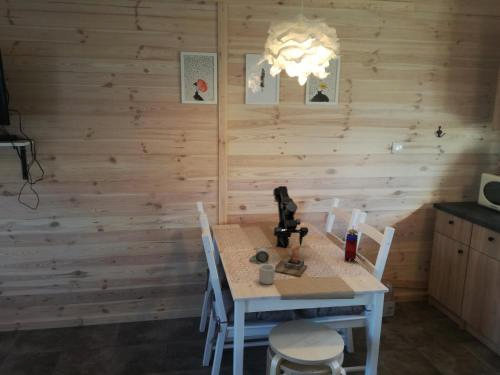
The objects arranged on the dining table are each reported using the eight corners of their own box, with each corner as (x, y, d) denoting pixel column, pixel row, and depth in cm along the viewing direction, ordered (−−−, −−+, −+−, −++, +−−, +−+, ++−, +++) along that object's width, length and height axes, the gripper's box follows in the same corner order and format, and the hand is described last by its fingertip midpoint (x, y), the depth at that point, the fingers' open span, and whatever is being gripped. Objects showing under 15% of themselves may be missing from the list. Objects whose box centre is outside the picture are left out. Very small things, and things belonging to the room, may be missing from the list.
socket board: (272, 271, 206) (272, 265, 206) (280, 262, 219) (280, 256, 218) (300, 277, 201) (300, 270, 200) (307, 267, 213) (307, 260, 213)
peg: (288, 266, 211) (289, 246, 209) (293, 264, 214) (294, 244, 212) (294, 268, 209) (295, 248, 206) (299, 266, 211) (300, 246, 209)
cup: (256, 276, 200) (257, 261, 199) (272, 276, 201) (273, 261, 199) (259, 285, 190) (259, 270, 188) (275, 285, 191) (276, 270, 189)
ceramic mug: (268, 258, 223) (268, 245, 222) (269, 264, 215) (269, 251, 214) (249, 258, 223) (249, 245, 222) (249, 264, 215) (249, 250, 214)
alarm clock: (355, 264, 219) (358, 229, 215) (339, 262, 221) (342, 228, 217) (356, 255, 233) (359, 222, 228) (341, 253, 235) (344, 220, 231)
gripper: (275, 213, 216) (277, 239, 208) (308, 213, 218) (312, 239, 210) (272, 222, 226) (274, 248, 217) (304, 222, 228) (307, 247, 219)
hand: (292, 245), depth 216 cm, fingers open, 9 cm apart
